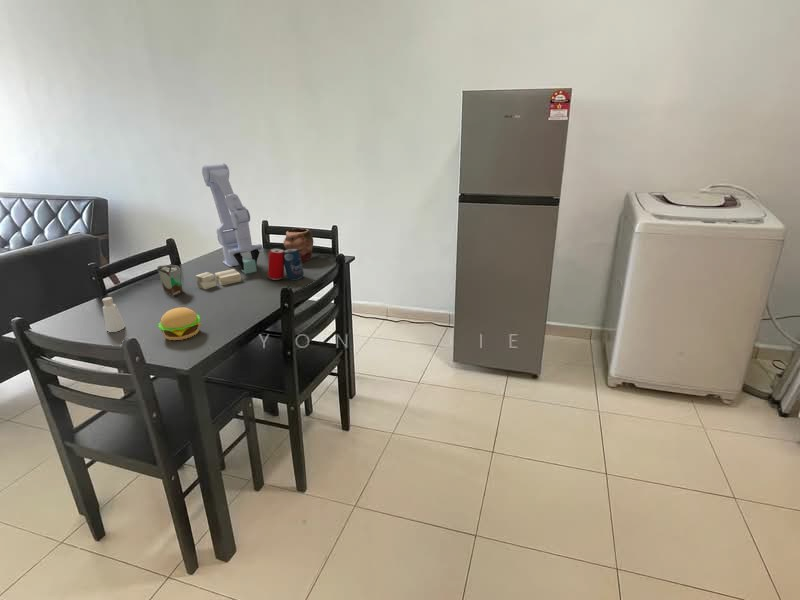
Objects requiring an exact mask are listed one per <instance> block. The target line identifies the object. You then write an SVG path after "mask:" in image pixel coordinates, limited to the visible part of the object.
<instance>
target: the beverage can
mask: <svg viewBox="0 0 800 600" xmlns="http://www.w3.org/2000/svg"><path fill="white" fill-rule="evenodd" d="M284 250H285V249H283V248H282V249H281V248H276V247H275V248H271V249H270V251H269V253H268V266H267V267H268V268H267V269H268V270H267V271H268V273H267V277H268V278H269V279H271V280H273V281H278V280H281V279H283V278H284V276H285V265H284V258H283V254H284V252H283V251H284Z"/></svg>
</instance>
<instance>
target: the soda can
mask: <svg viewBox="0 0 800 600" xmlns="http://www.w3.org/2000/svg"><path fill="white" fill-rule="evenodd" d="M283 250H284V251H283V252H284V254H283V258H284V270H285V274H286V277H287V278H288V279H289V280H291V281H295V280H300V279H302V278H303V276H304V269H303V262H301V257H300V252H299V251H298V249H297V248H289V249H286V248H285V249H283Z"/></svg>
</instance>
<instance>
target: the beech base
mask: <svg viewBox="0 0 800 600" xmlns="http://www.w3.org/2000/svg"><path fill="white" fill-rule="evenodd" d="M241 276H242V275H241V273H240V272H238V271H237V270H236V269H235V268H231V269H227V270H223V271H217V272H214V277H215V282H217V283H218V284H220V285H221V286H226V285H229V284H234V283H238V282H239V283H240V282H242V277H241Z"/></svg>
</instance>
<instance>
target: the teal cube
mask: <svg viewBox="0 0 800 600" xmlns="http://www.w3.org/2000/svg"><path fill="white" fill-rule="evenodd" d="M242 259H243V266H244V270H240V271H241V272H242V273H244V274H246V275H247V274H251V273H255V272H257V271H258V269H257V266H256V263H255V260H254V259H252V257H249V258H242Z"/></svg>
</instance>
